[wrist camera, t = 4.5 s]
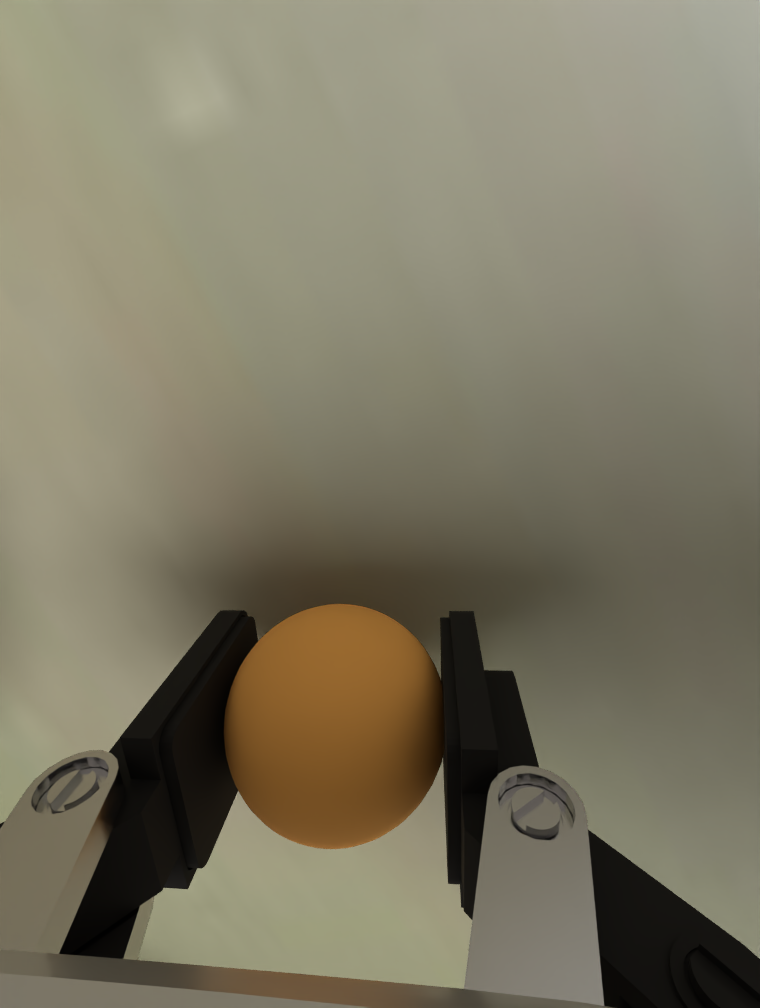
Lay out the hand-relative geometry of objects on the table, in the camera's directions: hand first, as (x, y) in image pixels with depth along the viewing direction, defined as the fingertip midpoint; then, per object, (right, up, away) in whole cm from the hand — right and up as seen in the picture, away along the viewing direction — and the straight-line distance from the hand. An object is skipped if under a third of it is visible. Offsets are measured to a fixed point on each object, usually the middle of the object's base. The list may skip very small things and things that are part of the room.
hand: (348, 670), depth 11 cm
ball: (0, 0, -1) cm, 1 cm away
